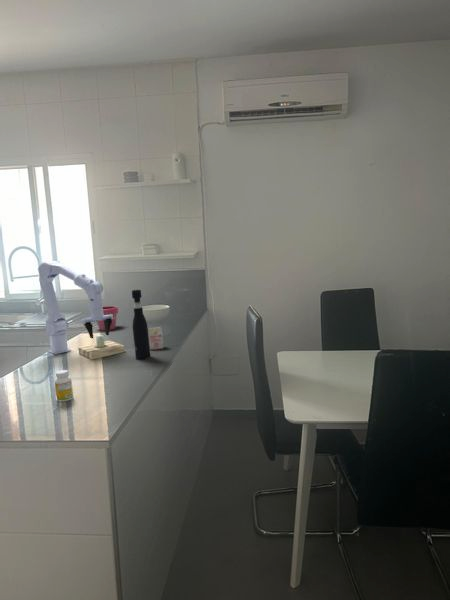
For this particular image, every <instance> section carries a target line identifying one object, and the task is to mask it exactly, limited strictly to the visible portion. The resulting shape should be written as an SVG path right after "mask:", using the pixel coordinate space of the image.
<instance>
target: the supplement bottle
mask: <svg viewBox="0 0 450 600" xmlns="http://www.w3.org/2000/svg"><path fill="white" fill-rule="evenodd" d="M55 377H56V378H55V379H54V388H55V395H56V401H58V402H61V403H62V402H68V401H70V400H73V398H74V391H73V383H72V377H71V376H69V370H67V369H63V370H58V371H55Z"/></svg>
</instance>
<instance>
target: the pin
mask: <svg viewBox="0 0 450 600" xmlns="http://www.w3.org/2000/svg"><path fill="white" fill-rule="evenodd" d="M95 341H96V343H97V349H98V348H103V347H105V343H104V342H105V336H104V334H97V335H95ZM96 343H95V344H96Z"/></svg>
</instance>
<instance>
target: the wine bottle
mask: <svg viewBox="0 0 450 600" xmlns="http://www.w3.org/2000/svg"><path fill="white" fill-rule="evenodd" d="M131 296H132V299H133V300H134V303H133V313H134V314H133V319H132V334H133V345H134V353H135V359H136V360H138V361H139V360H140V361H141V360H148V359H150V358H151V357H152V356H151V350H150V346H149V337H148V328H149V326H148V323H147V322H148V321H147V320H146V317H145V315H144V312H143V311H144V309H143V304H142V303H141V302H142V301H141V298H142V291H141V289H134V290H131Z"/></svg>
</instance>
